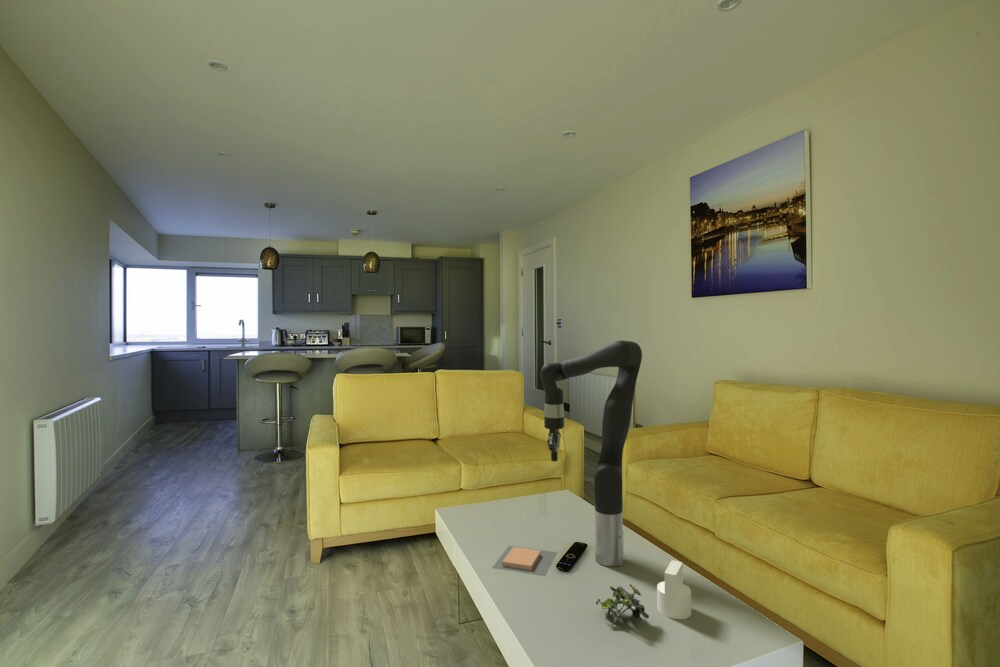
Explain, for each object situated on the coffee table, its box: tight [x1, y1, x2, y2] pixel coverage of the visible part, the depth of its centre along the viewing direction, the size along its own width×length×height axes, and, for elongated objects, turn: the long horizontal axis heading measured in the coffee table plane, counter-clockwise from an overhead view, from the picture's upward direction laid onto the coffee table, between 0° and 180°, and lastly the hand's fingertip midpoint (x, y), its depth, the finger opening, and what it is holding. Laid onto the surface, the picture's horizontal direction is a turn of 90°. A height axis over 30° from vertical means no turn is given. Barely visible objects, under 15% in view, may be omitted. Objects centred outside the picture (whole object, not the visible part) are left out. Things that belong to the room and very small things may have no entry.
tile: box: [502, 546, 541, 571], centre depth 171 cm, size 10×2×12 cm
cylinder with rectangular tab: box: [656, 559, 692, 620], centre depth 141 cm, size 9×9×12 cm
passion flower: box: [595, 583, 650, 626], centre depth 136 cm, size 11×11×12 cm
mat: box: [491, 545, 558, 577], centre depth 172 cm, size 18×18×1 cm
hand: (554, 460), depth 192 cm, fingers closed
